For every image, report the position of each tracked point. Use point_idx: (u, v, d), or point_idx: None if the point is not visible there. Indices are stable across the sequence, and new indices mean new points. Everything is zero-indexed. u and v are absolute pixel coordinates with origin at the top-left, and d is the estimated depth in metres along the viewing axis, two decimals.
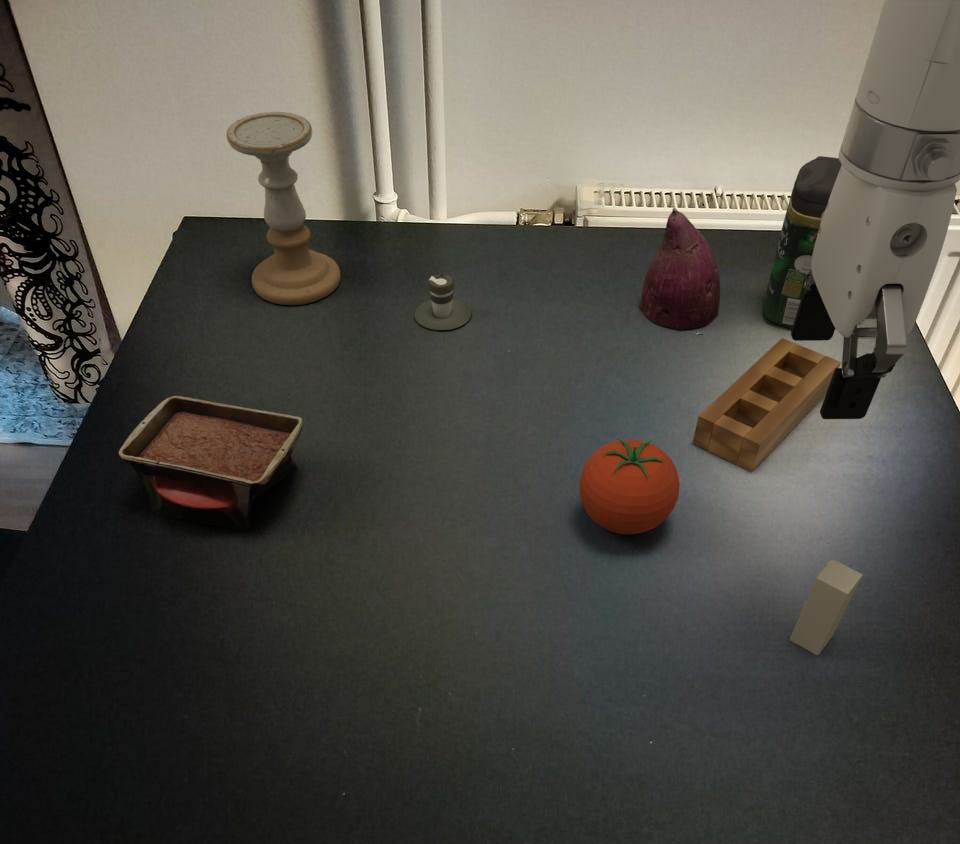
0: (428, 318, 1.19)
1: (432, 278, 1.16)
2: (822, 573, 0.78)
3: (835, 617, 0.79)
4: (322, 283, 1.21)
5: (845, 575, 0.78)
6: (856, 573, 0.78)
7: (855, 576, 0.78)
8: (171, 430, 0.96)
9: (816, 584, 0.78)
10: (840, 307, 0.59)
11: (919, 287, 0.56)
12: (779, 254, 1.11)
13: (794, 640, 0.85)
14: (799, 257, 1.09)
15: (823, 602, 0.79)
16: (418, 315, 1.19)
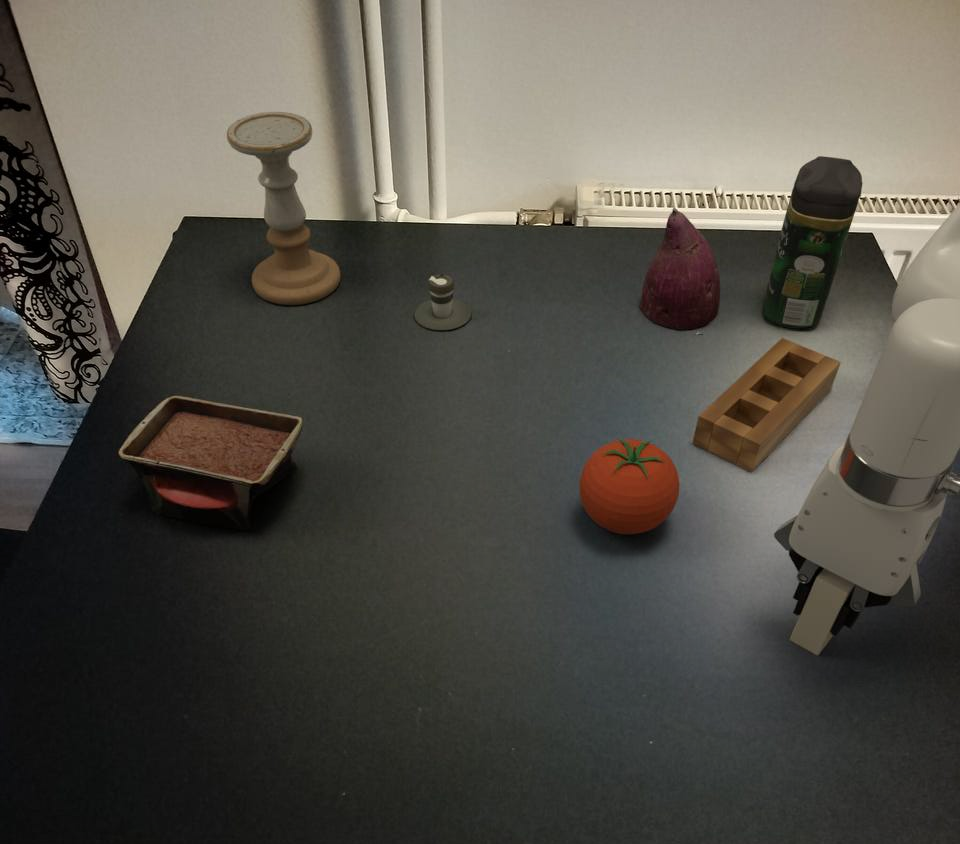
0: (428, 318, 1.19)
1: (432, 278, 1.16)
2: (821, 573, 0.78)
3: (835, 617, 0.79)
4: (322, 283, 1.21)
5: None
6: None
7: None
8: (171, 430, 0.96)
9: (816, 584, 0.78)
10: (880, 581, 0.73)
11: None
12: (779, 254, 1.11)
13: (794, 640, 0.85)
14: (799, 257, 1.09)
15: (822, 602, 0.79)
16: (418, 315, 1.19)
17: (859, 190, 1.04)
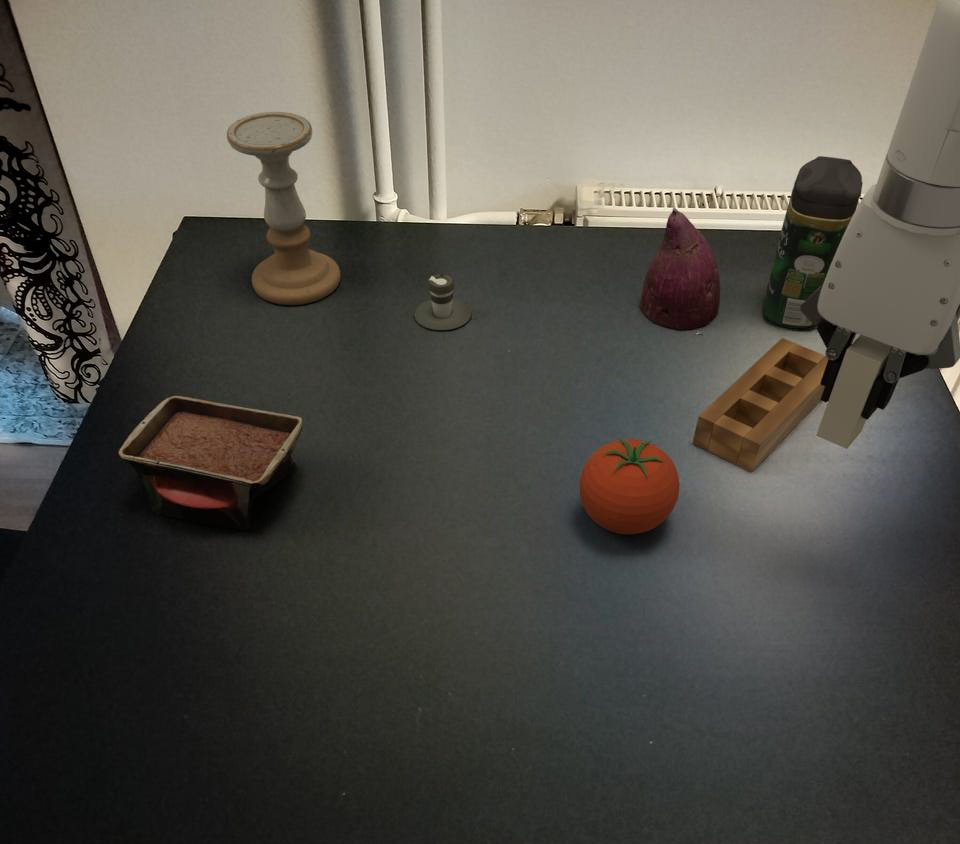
0: (428, 318, 1.19)
1: (432, 278, 1.16)
2: (852, 345, 0.73)
3: (867, 395, 0.74)
4: (322, 283, 1.21)
5: (877, 346, 0.73)
6: None
7: (888, 347, 0.73)
8: (171, 430, 0.96)
9: (846, 357, 0.73)
10: (918, 334, 0.68)
11: None
12: (779, 254, 1.11)
13: (821, 434, 0.80)
14: (799, 257, 1.09)
15: (853, 379, 0.74)
16: (418, 315, 1.19)
17: (859, 190, 1.04)
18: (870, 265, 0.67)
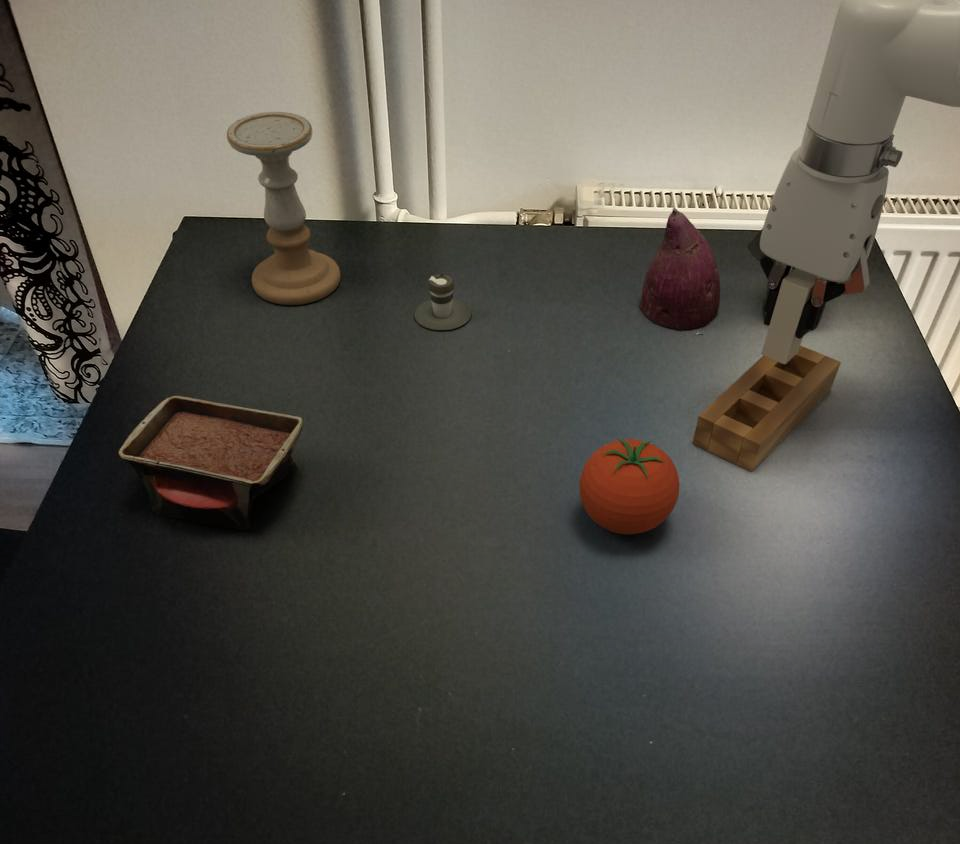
0: (428, 318, 1.19)
1: (432, 278, 1.16)
2: (787, 276, 0.92)
3: (799, 317, 0.93)
4: (322, 283, 1.21)
5: (807, 277, 0.92)
6: None
7: (815, 278, 0.92)
8: (171, 430, 0.96)
9: (782, 286, 0.92)
10: (835, 264, 0.87)
11: (875, 231, 0.86)
12: None
13: (765, 353, 0.98)
14: None
15: (788, 304, 0.93)
16: (418, 315, 1.19)
17: None
18: (797, 208, 0.85)
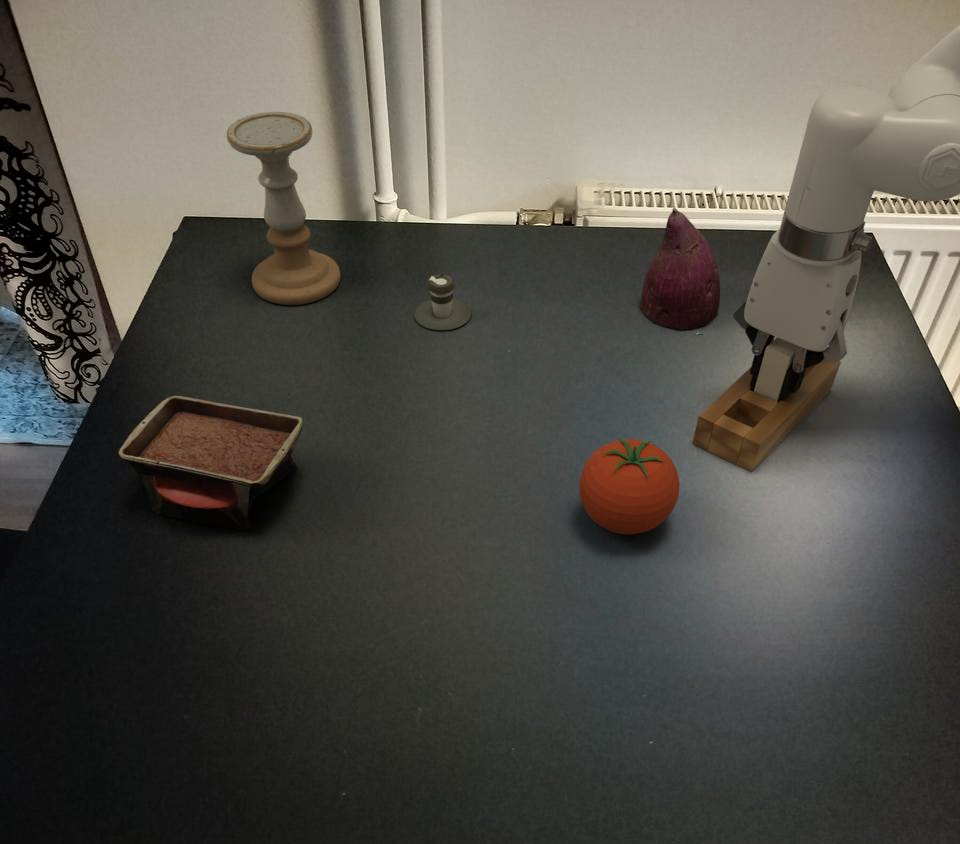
0: (428, 318, 1.19)
1: (432, 278, 1.16)
2: (770, 344, 0.98)
3: (782, 382, 0.99)
4: (322, 283, 1.21)
5: (789, 345, 0.98)
6: None
7: None
8: (171, 430, 0.96)
9: (766, 353, 0.98)
10: (813, 336, 0.93)
11: (851, 305, 0.92)
12: None
13: None
14: None
15: (772, 369, 0.99)
16: (418, 315, 1.19)
17: None
18: (777, 285, 0.92)
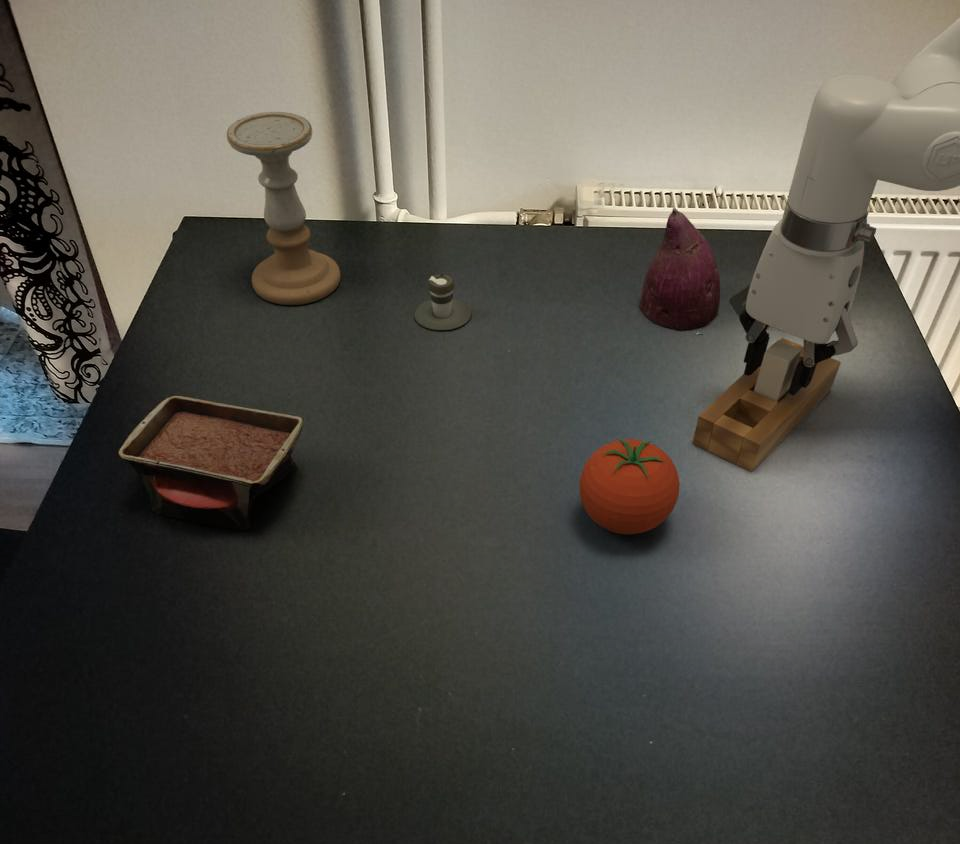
0: (428, 318, 1.19)
1: (432, 278, 1.16)
2: (769, 348, 0.99)
3: (780, 386, 1.00)
4: (322, 283, 1.21)
5: (787, 350, 0.99)
6: (796, 348, 0.99)
7: (795, 350, 0.98)
8: (171, 430, 0.96)
9: (765, 358, 0.99)
10: (816, 328, 0.92)
11: (853, 297, 0.91)
12: None
13: None
14: None
15: (770, 374, 1.00)
16: (418, 315, 1.19)
17: None
18: (779, 277, 0.91)
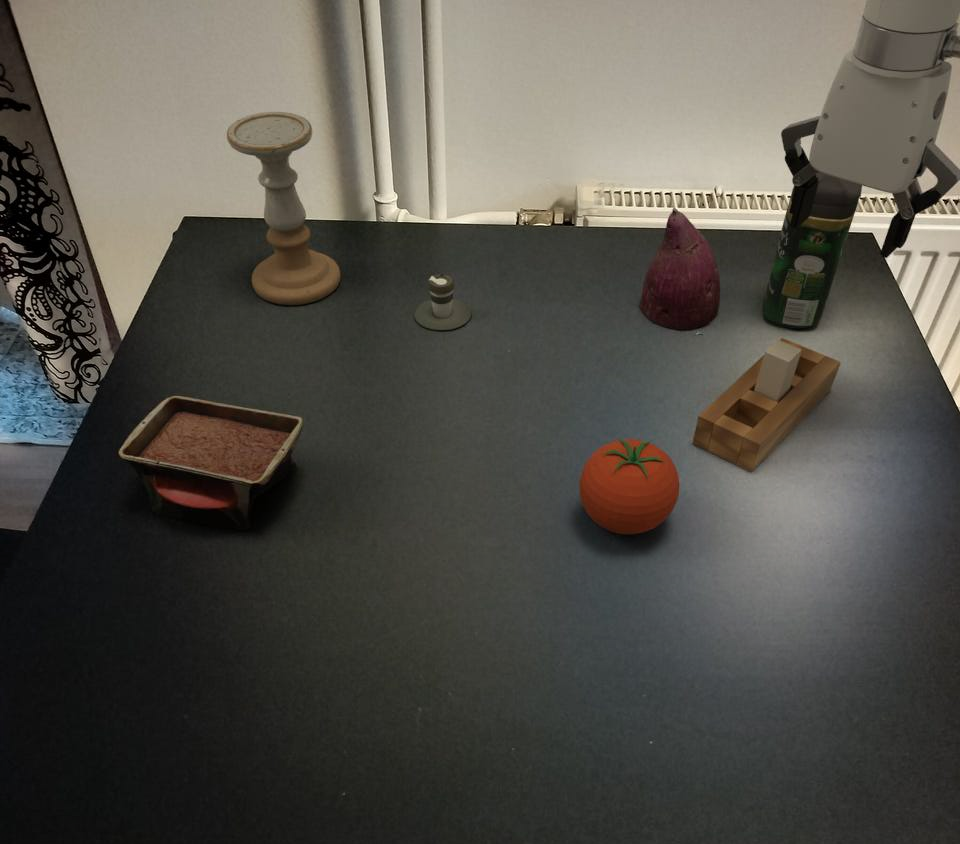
0: (428, 318, 1.19)
1: (432, 278, 1.16)
2: (769, 348, 0.99)
3: (780, 386, 1.00)
4: (322, 283, 1.21)
5: (787, 350, 0.99)
6: (796, 348, 0.99)
7: (795, 350, 0.98)
8: (171, 430, 0.96)
9: (765, 358, 0.99)
10: (893, 173, 0.81)
11: (936, 135, 0.80)
12: (779, 254, 1.11)
13: None
14: (799, 257, 1.09)
15: (770, 374, 1.00)
16: (418, 315, 1.19)
17: (859, 190, 1.04)
18: (852, 113, 0.80)
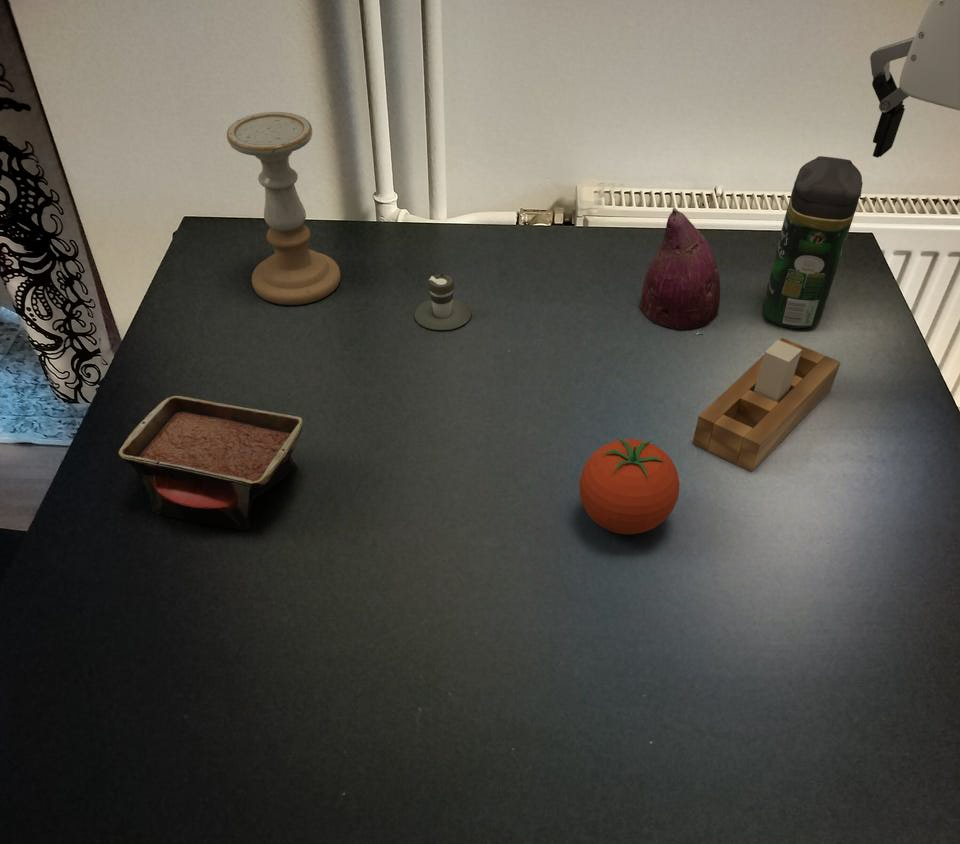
0: (428, 318, 1.19)
1: (432, 278, 1.16)
2: (769, 348, 0.99)
3: (780, 386, 1.00)
4: (322, 283, 1.21)
5: (787, 350, 0.99)
6: (796, 348, 0.99)
7: (795, 350, 0.98)
8: (171, 430, 0.96)
9: (765, 358, 0.99)
10: None
11: None
12: (779, 254, 1.11)
13: None
14: (799, 257, 1.09)
15: (770, 374, 1.00)
16: (418, 315, 1.19)
17: (859, 190, 1.04)
18: (950, 31, 0.78)
